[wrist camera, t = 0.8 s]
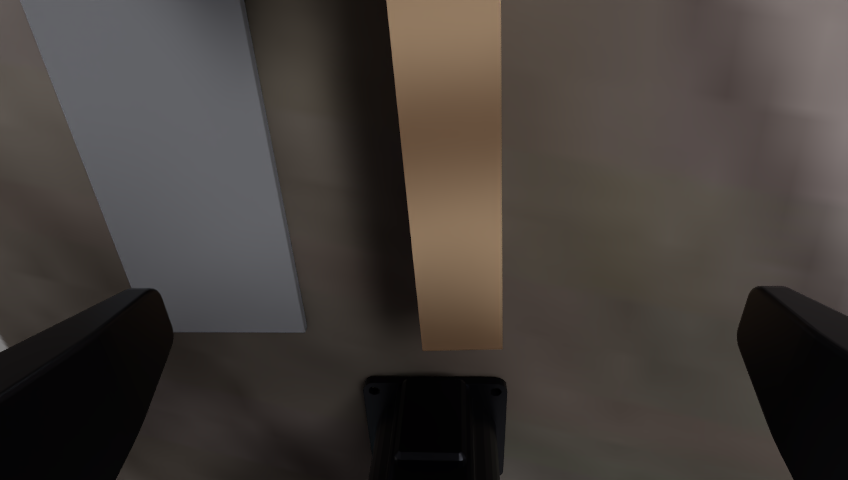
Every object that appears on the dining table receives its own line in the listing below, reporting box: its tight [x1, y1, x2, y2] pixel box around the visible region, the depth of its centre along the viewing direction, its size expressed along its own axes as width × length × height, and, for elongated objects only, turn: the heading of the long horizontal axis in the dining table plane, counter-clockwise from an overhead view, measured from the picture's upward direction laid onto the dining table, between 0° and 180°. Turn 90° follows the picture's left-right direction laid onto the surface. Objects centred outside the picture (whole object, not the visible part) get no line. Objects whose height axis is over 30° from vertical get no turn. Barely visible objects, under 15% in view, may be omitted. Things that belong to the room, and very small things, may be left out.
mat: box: [20, 0, 307, 333], centre depth 20 cm, size 16×7×1 cm, turn 2°
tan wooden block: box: [386, 0, 502, 351], centre depth 16 cm, size 14×3×5 cm, turn 4°
